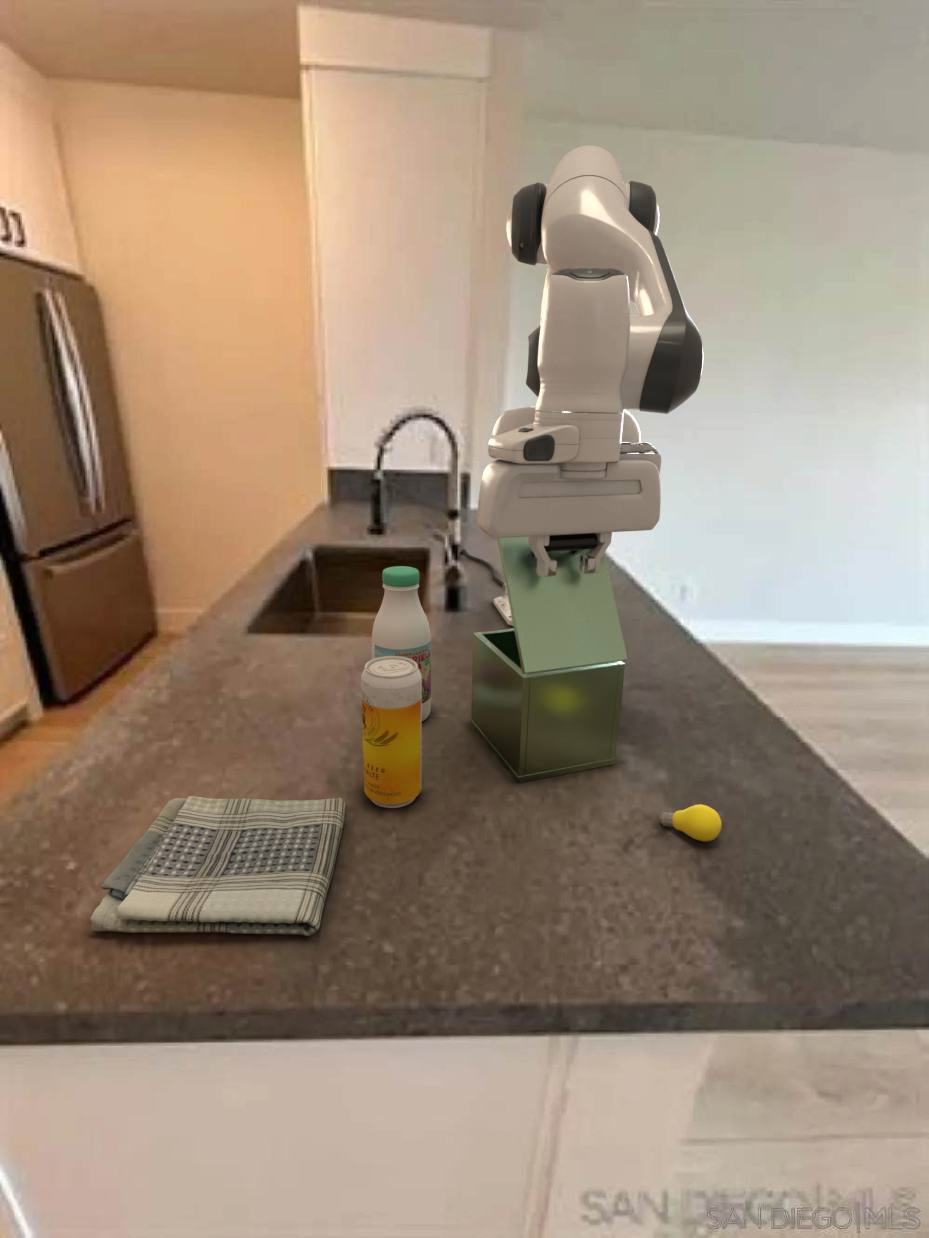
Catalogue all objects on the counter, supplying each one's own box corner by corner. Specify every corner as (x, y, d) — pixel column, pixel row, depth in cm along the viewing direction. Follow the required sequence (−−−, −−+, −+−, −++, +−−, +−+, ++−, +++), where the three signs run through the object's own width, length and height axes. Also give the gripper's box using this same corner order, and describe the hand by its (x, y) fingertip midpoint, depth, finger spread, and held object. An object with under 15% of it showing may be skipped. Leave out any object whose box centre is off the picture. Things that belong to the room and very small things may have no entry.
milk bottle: (361, 714, 90) (356, 569, 84) (403, 696, 95) (402, 559, 89) (399, 733, 85) (398, 581, 79) (442, 714, 91) (444, 570, 84)
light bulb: (721, 851, 64) (712, 824, 63) (660, 843, 68) (650, 818, 66) (728, 824, 67) (720, 798, 65) (669, 818, 70) (660, 793, 69)
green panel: (496, 537, 74) (514, 519, 69) (596, 531, 78) (618, 514, 74) (522, 674, 71) (542, 665, 66) (624, 660, 75) (649, 651, 71)
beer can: (358, 785, 74) (353, 658, 69) (410, 774, 76) (410, 651, 71) (373, 816, 69) (370, 681, 64) (429, 803, 71) (430, 672, 66)
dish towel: (350, 809, 70) (349, 782, 69) (319, 943, 53) (317, 910, 52) (169, 808, 69) (165, 781, 68) (78, 943, 52) (71, 910, 51)
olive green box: (470, 724, 88) (473, 632, 84) (556, 711, 92) (562, 622, 88) (517, 783, 75) (523, 677, 71) (615, 764, 79) (625, 663, 75)
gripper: (644, 440, 75) (632, 562, 79) (473, 440, 68) (470, 573, 72) (680, 444, 69) (665, 574, 73) (498, 444, 62) (493, 588, 66)
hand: (567, 574), depth 73 cm, fingers closed on green panel, 4 cm apart
